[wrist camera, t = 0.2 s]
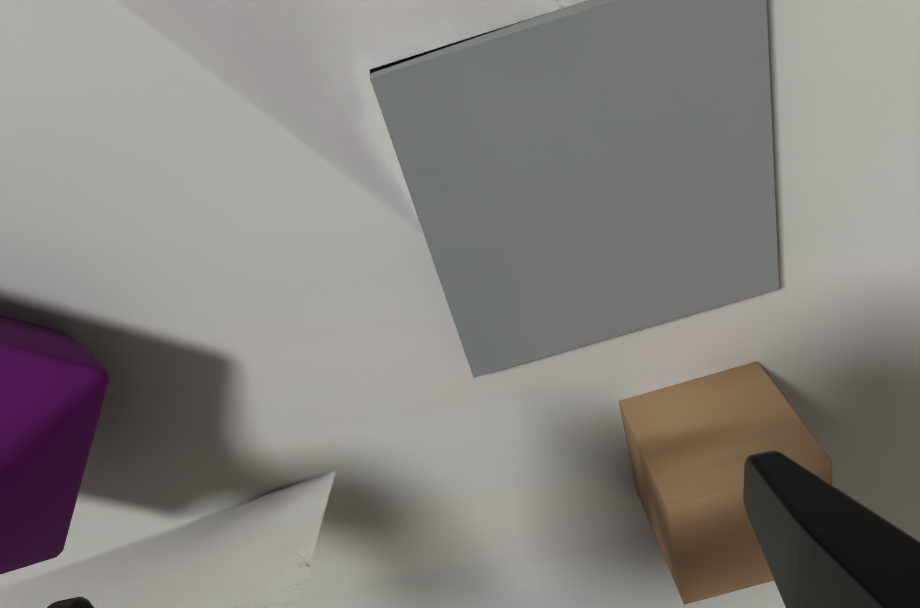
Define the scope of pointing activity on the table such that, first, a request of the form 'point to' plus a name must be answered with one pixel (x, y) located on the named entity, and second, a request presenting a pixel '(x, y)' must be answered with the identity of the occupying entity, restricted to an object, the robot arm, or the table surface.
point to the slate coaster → (590, 170)
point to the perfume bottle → (42, 437)
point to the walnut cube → (711, 472)
